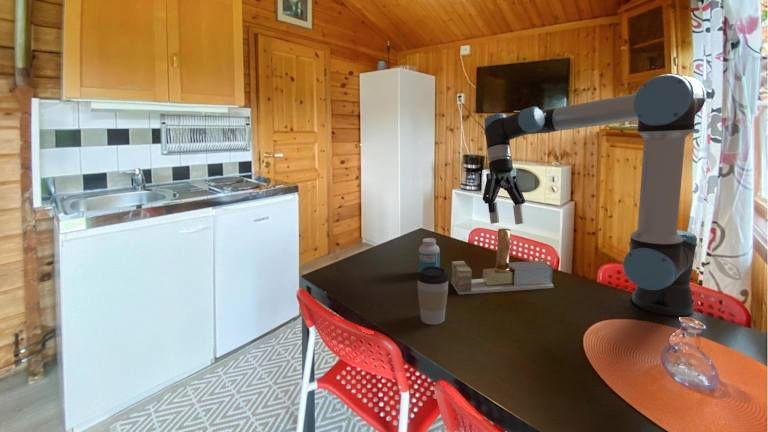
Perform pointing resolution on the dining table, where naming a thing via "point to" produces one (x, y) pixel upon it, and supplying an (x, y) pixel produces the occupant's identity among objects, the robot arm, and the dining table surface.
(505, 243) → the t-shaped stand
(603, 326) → the dining table surface
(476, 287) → the bed
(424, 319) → the coffee cup
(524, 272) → the sleeve
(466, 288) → the socket
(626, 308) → the dining table surface
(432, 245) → the pill bottle
